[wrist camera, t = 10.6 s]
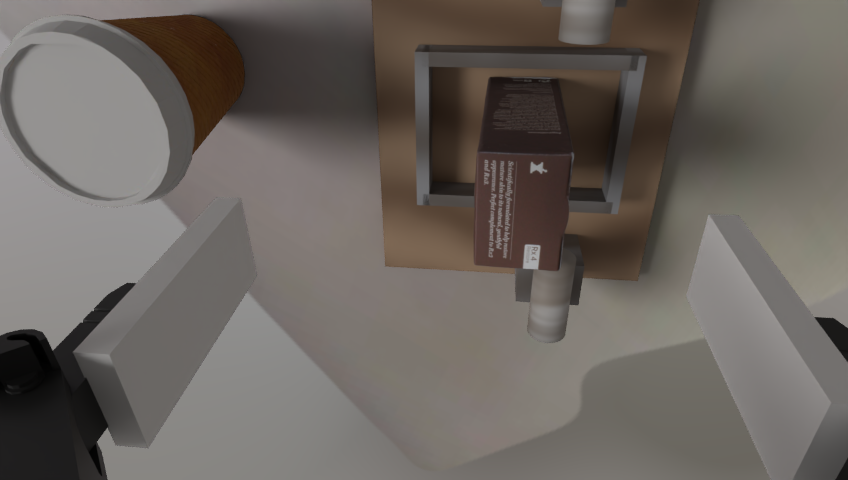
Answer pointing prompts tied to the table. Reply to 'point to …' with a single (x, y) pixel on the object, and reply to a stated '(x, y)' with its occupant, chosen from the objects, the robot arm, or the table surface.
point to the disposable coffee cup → (115, 101)
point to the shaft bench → (586, 115)
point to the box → (522, 175)
